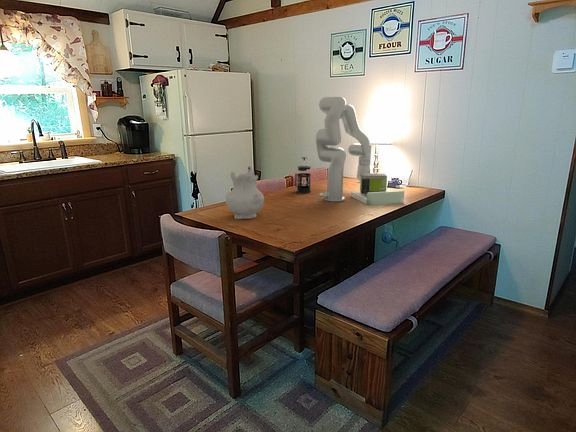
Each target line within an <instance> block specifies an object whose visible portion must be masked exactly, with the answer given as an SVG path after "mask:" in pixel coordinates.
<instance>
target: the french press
mask: <svg viewBox="0 0 576 432" xmlns="http://www.w3.org/2000/svg"><path fill="white" fill-rule="evenodd" d="M301 159H302V160H303V162H305V160H306V159H308V157H305V156H302V157H301ZM311 168H312V166H311V165H310V166H309V165H299V166H298V165H297V171H299V172H298V173H295V174H294V187H296V193H297V192H298V193H297V194H310V193H311V192H312V190H311V188H312V187H311V177H312V174H311V173H307V172H306V171H307V170H311ZM303 178H305V180H303Z"/></svg>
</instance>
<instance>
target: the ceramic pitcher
mask: <svg viewBox="0 0 576 432" xmlns="http://www.w3.org/2000/svg"><path fill="white" fill-rule="evenodd" d="M230 178H231V181H232V184H233V188H232V190H230V191H229V192H227V194H226V196H225V203H226V207H227V208H228V210H229V211H230V212H231V213H232V214H234V217H233V218H234V219H235V220H243V219H244V220H245V219H248V220H249V219H250V220H251V219H255V218H257V217H258V215H257V214H256V213H258V212H260V211H261V210H262V208H263V207H264V203H265V196H264V194H263V193H262V192H261V191H260V190H259V189H258V188H257V181H258V179H259V176H258V174H256V175H255V170H254V168H253V166H248V167H247V173H241V174H239V175H236V172H235V171H232V172H230Z"/></svg>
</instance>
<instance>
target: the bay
mask: <svg viewBox="0 0 576 432" xmlns="http://www.w3.org/2000/svg"><path fill="white" fill-rule="evenodd" d="M350 197H352V198H354V199H355V200H357V201H359V202H361V203H363V204H364V205H367V206H375V205H377V206H378V205H387V204H389V205H390V204H402V203H404V198H405V190H389V191H388V190H386V191H385V192H369V193H367V197H364V196H362V195H360V193H358V192H356V191H354V190H353V191H350Z"/></svg>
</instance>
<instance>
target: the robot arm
mask: <svg viewBox="0 0 576 432" xmlns="http://www.w3.org/2000/svg"><path fill="white" fill-rule="evenodd" d="M318 105H319V109H320V111H321V112H322V113H324V114H325V118H324V122H323V123H324V128H320V129H318V131H317V132H316V133H315V134H316V135H315V144H316V150H317V157H318V159H319V160H320V161H321V162H324V163H330V165H329V166H328V168H327V171H326V172H327V179H326V180H327V181H326V191H325V192H323V193H319V194H318V196H319V198H323V199H324V201H327V202H334V203H336V202H343V201H345V200H346V197H345V196H343V193H344V191H343V189H344V170H345V169H344V168H345V162H346V157H347V153H346V150H344V149H343V148H342V147H339V146H338V145H340V143H342V136H341V133H342V132H341V127H340V126H341V125H340V119H341V121H342V124H343V128H344V131H345V134H347V135H349V136H351V137H353V138H354V139H355V140H357V141H358V142H359V143H352V144H350V145H349V146H348V148H347V152H348V154H349V155H351V156H354V157H358V163H357V164H358V165H357V170H356V179H357V180H358V181H359V185H360V184H361V173H365V174H367V173H371V168H370V167H371V159H372V144H371V143H370V140H369V137H368V136H367V134H366V133H365V131H363V129H361V127H360V126H359V125H360V124H359V121H358V119H357V114H356V110H355V107H354V106H353V105H351V104H349V103H348V104H347V101H346V99H345V98H344V97H341V96H326V97H322V98H321V99H320V100H319V102H318ZM337 146H338V147H337Z"/></svg>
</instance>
